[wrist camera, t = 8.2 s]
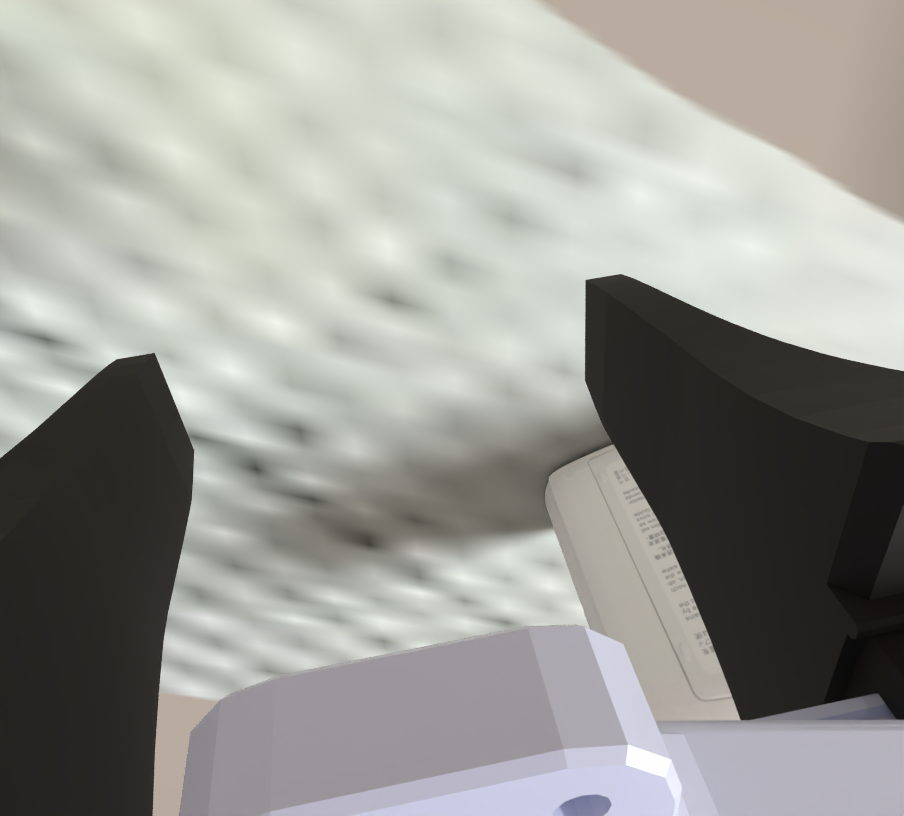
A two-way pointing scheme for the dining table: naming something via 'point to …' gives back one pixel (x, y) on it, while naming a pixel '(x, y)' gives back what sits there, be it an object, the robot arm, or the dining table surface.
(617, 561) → the photo printer
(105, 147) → the dining table surface
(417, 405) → the dining table surface
